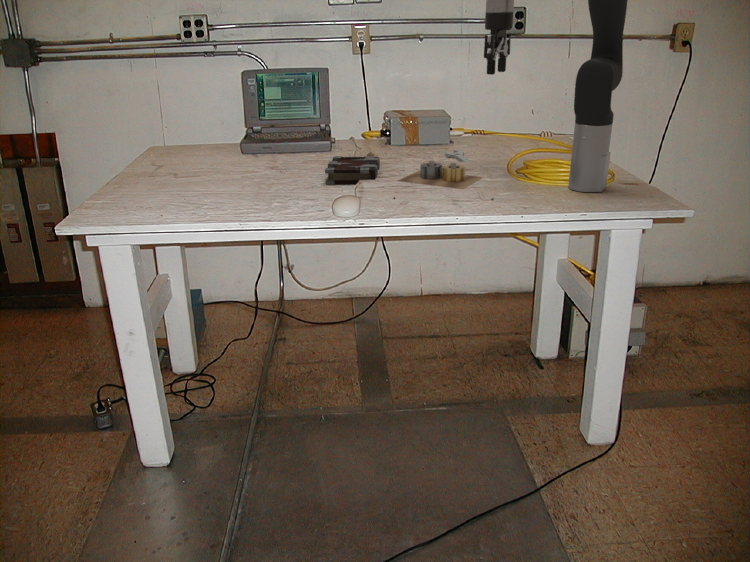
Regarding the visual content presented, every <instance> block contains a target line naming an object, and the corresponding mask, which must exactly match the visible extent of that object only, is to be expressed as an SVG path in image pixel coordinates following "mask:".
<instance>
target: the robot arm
mask: <svg viewBox="0 0 750 562" xmlns="http://www.w3.org/2000/svg"><path fill="white" fill-rule="evenodd" d="M628 1H629V0H587V4H588V12H589V16H590V17H589V18H590V22H591V27H592V47H591V54H590V59H588V60H586V61H584V62H583V63H582V64H581V66H580V67H579V68H578V71H577V74H576V77H575V85H574V86H575V87H574V101H573V111H574V116H575V118H574V120H575V122H574V127H573V128H574V129H573V130H574V131H573V137H572V138H573V139H572V147H571V148H572V149H571V158H570V165H569V166H570V167H569V176H568V177H569V178H568V189H570V190H572V191H576V192H581V193H582V192H583V193H603V191H604V190H605V189H606V188H607V185H608V184H607V183H608V176H609V170H610V169H609V167H610V162H611V161H610V160H611V151H610V147H611V146H610V145H611V138H612V130H613V123H614V112H613V110H612V107H611V106H612V105H611V104H612V97H613V96H612V93H613V91H614V90H615V89H617V88H618V86H620V84H621V81H622V78H623V69H624V68H623V61H624V60H623V57H624V55H623V54H624V53H623V51H624V50H623V49H624V46H623V45H624V43H623V42H624V39H623V38H624V30H625V23H626V17H627V16H626V15H627V9H628ZM514 7H515V0H486V1H485V19H484V21H485V22H484V29H485V30H486V31H490V33H489V34H485V36H484V46H483V49H484V50H483V58H484V59H485V60H486V75H493V76H494V75H495V74H496V59H497V57H498V59H497V72H498V73H504V72H506V70H507V59H508V56H510V55H511V41H512V40H511V39H512V34H511V32H507V30H508V31H509V30H512V29H513V26H514V25H513V24H514V10H515V8H514Z"/></svg>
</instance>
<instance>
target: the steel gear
mask: <svg viewBox="0 0 750 562" xmlns="http://www.w3.org/2000/svg"><path fill="white" fill-rule="evenodd" d="M419 165H420V167H419V170H420V177H422V179H429V180H432V179H440V177H442V174H443V166H444V164H443V163H441V162H434V166H429V162H422V163H421V164H419Z"/></svg>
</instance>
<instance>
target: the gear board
mask: <svg viewBox="0 0 750 562" xmlns="http://www.w3.org/2000/svg"><path fill="white" fill-rule="evenodd" d="M428 163H429V166H434V163H435V160H429V161H428ZM450 165H451V168H456V165H457V163H456V162H451V163H450ZM483 178H484V177H483V176H476V175H466V174H465V180H464V181H459V182H448V181H443V174H442V177H440V179H432V180H429V179H422V177H420V169H419V170H417V171H415V172H412V173H411V174H409V175H406V176H404V177H402V178H400V179H398V180H397V182H403V183H411V184H419V185H429V186H434V187H435V186H436V187H444V188H451V189H458V190H465V189H467V188H468V187H470V186H472V185H474V184H475V183H476V182H478V181H480V180H482V179H483Z"/></svg>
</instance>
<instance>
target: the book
mask: <svg viewBox="0 0 750 562" xmlns="http://www.w3.org/2000/svg"><path fill="white" fill-rule="evenodd" d="M380 161H381V160H380V158H379V156H375V153H373V152H371V151H369V153H367V155H366V156H342V155H333V156H332V160H329V161H328V162H327V167H326V168H325V169H324V174H327V175H328V177H327V179H326V180H325V186H327V185H328V186H335V185H357V184H358V183H359V181H360V180H361V179H362V180H363V179H365V180H367V179H369V180H376V178H377V177H378V171H379V170H380V166H381V165H380V164H381V163H380Z"/></svg>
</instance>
